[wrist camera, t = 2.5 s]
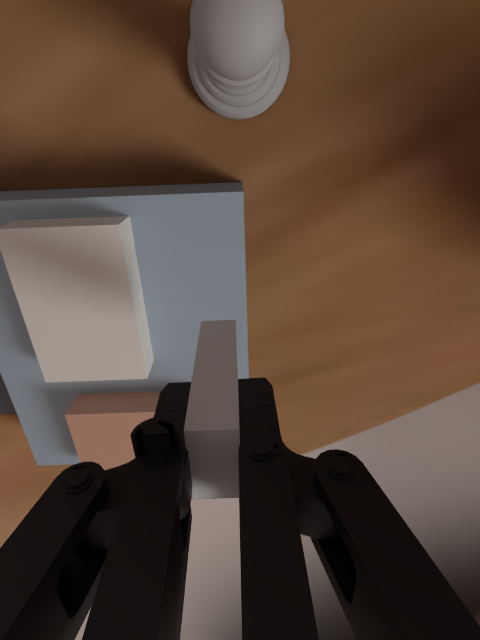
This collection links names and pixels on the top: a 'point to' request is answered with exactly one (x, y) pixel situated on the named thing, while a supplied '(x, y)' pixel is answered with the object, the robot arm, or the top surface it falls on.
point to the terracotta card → (108, 425)
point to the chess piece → (238, 55)
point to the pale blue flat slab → (157, 286)
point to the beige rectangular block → (80, 296)
